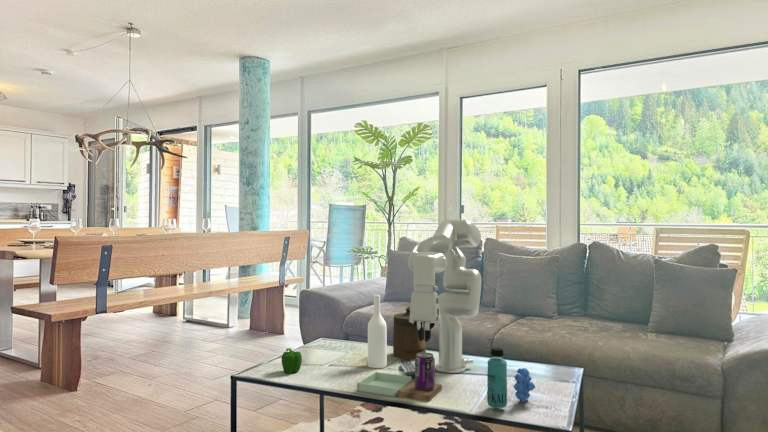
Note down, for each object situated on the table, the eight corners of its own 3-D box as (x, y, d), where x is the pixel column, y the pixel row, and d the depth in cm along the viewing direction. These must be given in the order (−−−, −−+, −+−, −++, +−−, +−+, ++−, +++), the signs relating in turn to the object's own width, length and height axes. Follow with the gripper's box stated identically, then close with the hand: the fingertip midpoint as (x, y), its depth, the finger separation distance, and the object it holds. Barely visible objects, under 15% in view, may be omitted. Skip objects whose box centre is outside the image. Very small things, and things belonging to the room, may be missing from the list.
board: (441, 389, 189) (441, 384, 189) (429, 401, 178) (429, 395, 178) (411, 385, 195) (411, 380, 195) (397, 396, 183) (397, 390, 183)
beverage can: (433, 392, 181) (433, 357, 181) (413, 390, 183) (413, 356, 183) (435, 385, 188) (435, 352, 188) (416, 384, 190) (416, 351, 190)
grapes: (529, 410, 169) (529, 373, 169) (509, 405, 173) (509, 369, 173) (541, 399, 179) (540, 364, 179) (521, 395, 183) (521, 361, 183)
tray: (411, 384, 196) (411, 376, 196) (395, 397, 182) (395, 388, 182) (375, 379, 202) (375, 371, 202) (357, 391, 189) (357, 382, 189)
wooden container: (431, 354, 239) (431, 306, 239) (415, 361, 227) (415, 311, 227) (403, 349, 247) (403, 303, 247) (386, 356, 235) (386, 308, 235)
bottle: (388, 363, 224) (388, 293, 224) (384, 369, 216) (383, 296, 216) (370, 362, 226) (370, 293, 226) (365, 367, 218) (365, 296, 218)
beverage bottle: (492, 404, 175) (492, 344, 175) (511, 408, 171) (510, 347, 171) (483, 409, 170) (483, 348, 170) (502, 414, 166) (501, 351, 166)
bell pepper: (296, 367, 219) (296, 343, 219) (304, 372, 212) (304, 348, 212) (277, 371, 214) (277, 346, 214) (285, 376, 207) (285, 351, 207)
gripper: (448, 288, 185) (449, 340, 185) (408, 286, 192) (408, 336, 192) (441, 291, 179) (442, 345, 179) (400, 289, 185) (400, 340, 185)
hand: (424, 340), depth 185 cm, fingers closed
